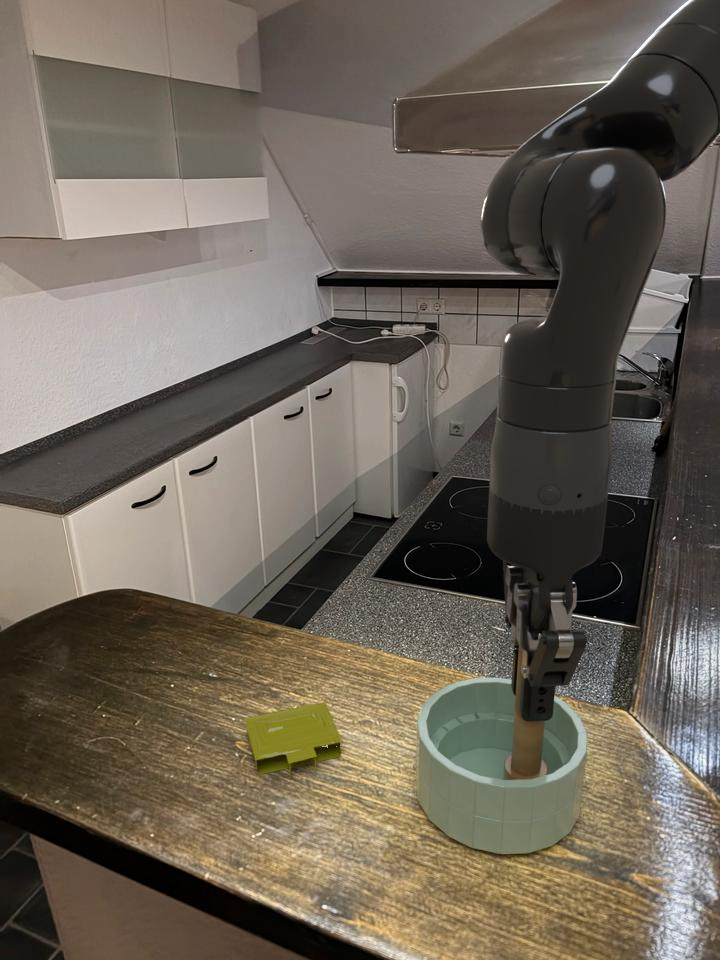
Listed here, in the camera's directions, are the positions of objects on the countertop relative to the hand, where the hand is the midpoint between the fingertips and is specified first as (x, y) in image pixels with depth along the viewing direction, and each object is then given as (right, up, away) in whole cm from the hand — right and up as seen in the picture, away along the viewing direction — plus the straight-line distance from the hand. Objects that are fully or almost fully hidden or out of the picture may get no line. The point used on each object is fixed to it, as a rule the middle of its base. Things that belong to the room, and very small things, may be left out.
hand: (530, 704), depth 56 cm
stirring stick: (0, -7, +2) cm, 7 cm away
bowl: (-2, -8, +4) cm, 9 cm away
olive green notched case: (-18, -7, +9) cm, 21 cm away
